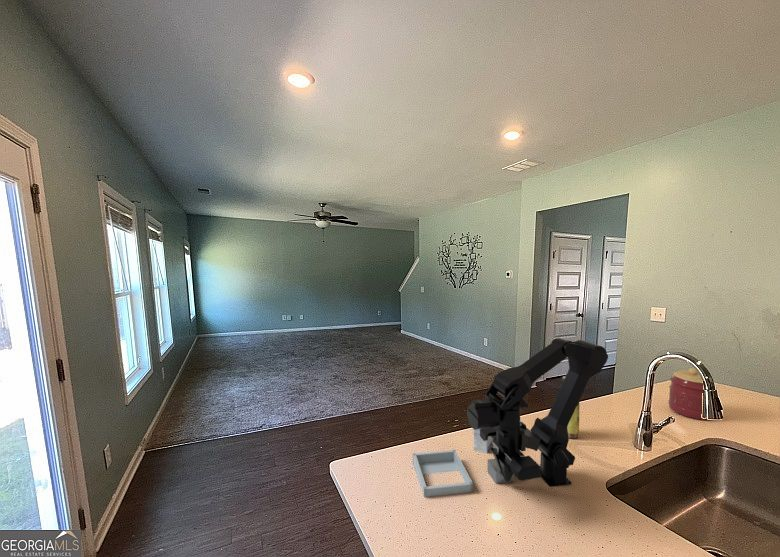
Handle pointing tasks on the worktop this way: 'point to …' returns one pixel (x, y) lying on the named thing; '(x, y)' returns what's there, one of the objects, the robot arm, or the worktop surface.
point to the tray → (439, 464)
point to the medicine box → (481, 442)
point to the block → (496, 472)
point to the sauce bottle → (573, 422)
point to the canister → (686, 393)
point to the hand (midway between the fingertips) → (507, 480)
